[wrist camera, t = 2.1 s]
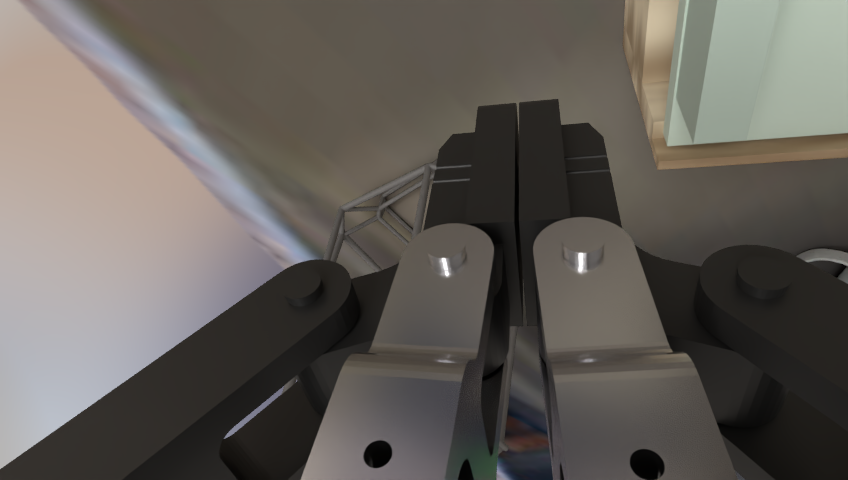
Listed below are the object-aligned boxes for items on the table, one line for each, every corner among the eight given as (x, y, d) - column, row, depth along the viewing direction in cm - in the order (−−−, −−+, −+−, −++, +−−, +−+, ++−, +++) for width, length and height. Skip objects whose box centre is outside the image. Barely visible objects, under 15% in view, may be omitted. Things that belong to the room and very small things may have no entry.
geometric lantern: (423, 284, 57) (328, 728, 32) (318, 178, 50) (87, 649, 25) (562, 228, 49) (579, 760, 24) (462, 92, 42) (337, 659, 17)
